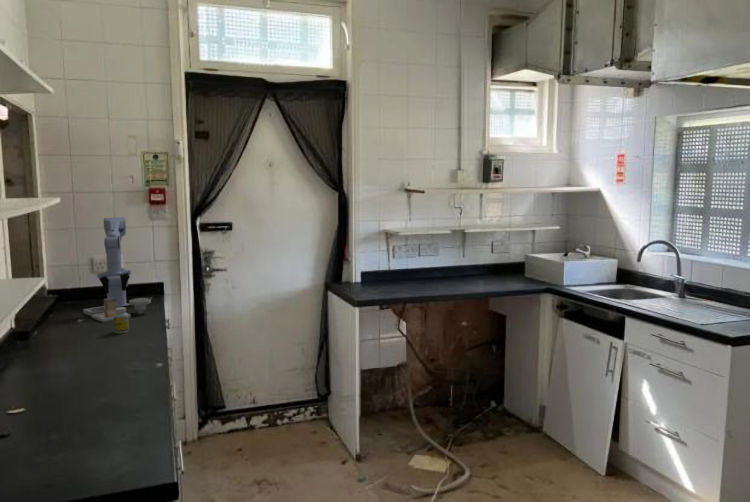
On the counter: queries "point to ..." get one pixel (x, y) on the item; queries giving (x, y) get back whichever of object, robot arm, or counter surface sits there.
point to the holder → (93, 310)
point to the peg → (110, 307)
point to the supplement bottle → (121, 320)
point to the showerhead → (140, 304)
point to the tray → (102, 317)
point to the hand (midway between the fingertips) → (115, 291)
